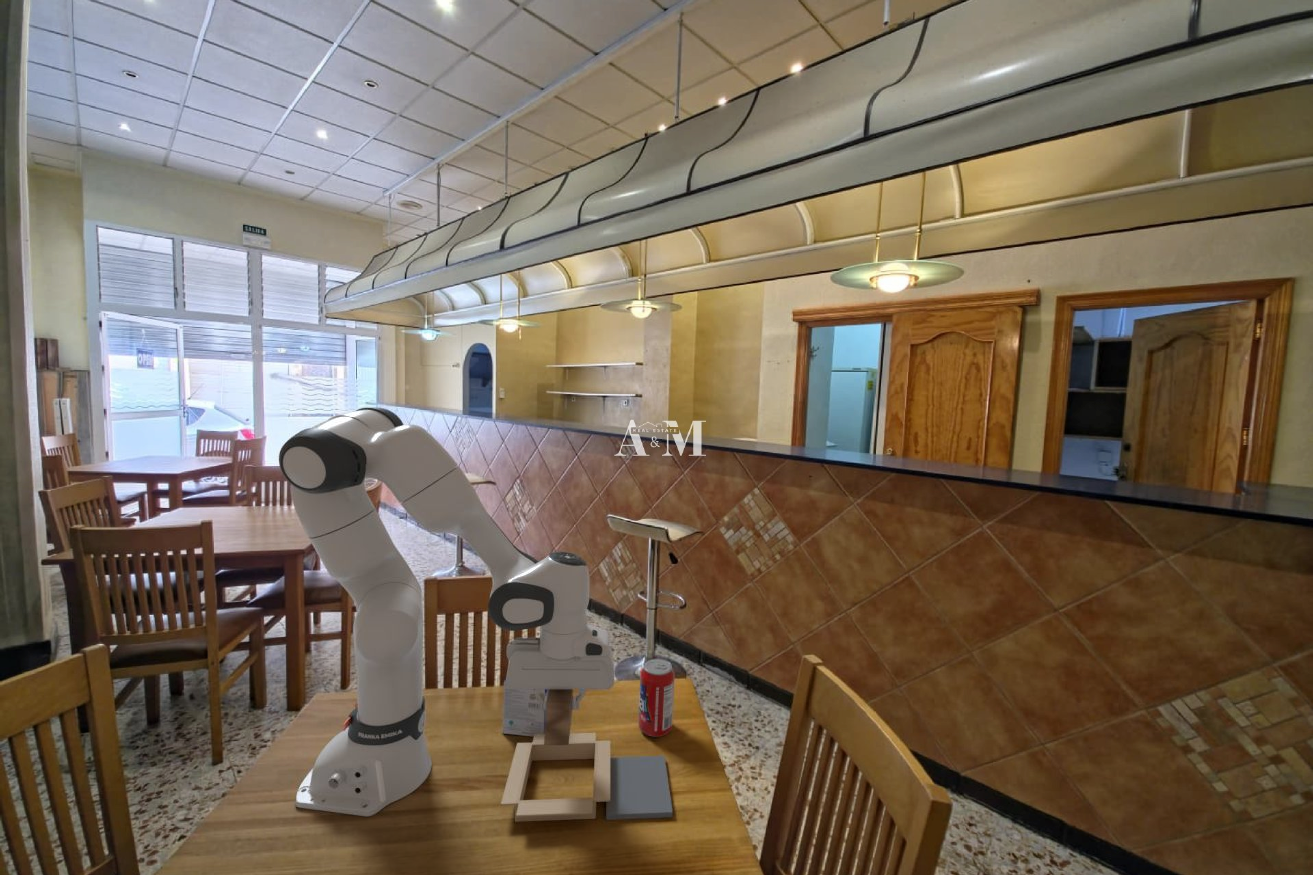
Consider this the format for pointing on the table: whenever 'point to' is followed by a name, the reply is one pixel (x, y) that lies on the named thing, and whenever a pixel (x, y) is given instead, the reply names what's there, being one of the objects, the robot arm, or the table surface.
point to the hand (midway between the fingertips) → (559, 708)
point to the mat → (638, 788)
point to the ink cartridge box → (522, 712)
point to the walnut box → (558, 717)
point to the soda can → (656, 697)
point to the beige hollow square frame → (576, 749)
